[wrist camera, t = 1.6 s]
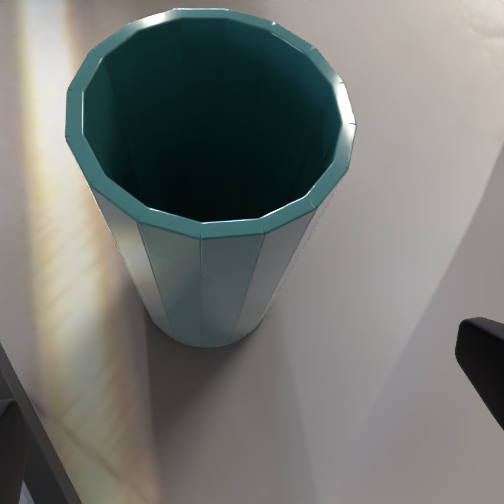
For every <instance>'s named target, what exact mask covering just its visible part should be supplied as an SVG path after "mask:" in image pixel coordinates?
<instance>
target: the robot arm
mask: <svg viewBox="0 0 504 504" xmlns="http://www.w3.org/2000/svg"><path fill="white" fill-rule="evenodd" d="M455 356H456V359H457V362H458V363H459V365H460V367H461V368H462V370H463V371H464V373H465V374H466V376H467V377H468V379H469V380H470V382H471V383H472V385H473V386H474V388H475V389H476V391H477V392H478V394H479V395H480V397H481V398H482V400H483V401H484V403H485V404H486V406H487V407H488V409H489V410H490V412H491V414H492V415H493V416H494V418H495V419H496V421H497V422H498V424H499V425H500V426H501V427H502V429H503V430H504V324H502V323H499V322H495V321H492V320H489V319H486V318H483V317H476V318H470V319H465V320H463V321H462V322H461V323H460V325H459V330H458V336H457V341H456V347H455ZM28 449H29V432H28V429H27V426H26V423H25V421H24V418H23V415H22V412H21V409H20V406H19V404H18V402H17V401H16V400H14V399H6V400H0V504H19V501H20V495H21V489H22V484H23V478H24V472H25V466H26V460H27V455H28Z"/></svg>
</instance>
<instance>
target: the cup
mask: <svg viewBox="0 0 504 504" xmlns="http://www.w3.org/2000/svg"><path fill="white" fill-rule="evenodd" d="M355 133H356V121H355V117H354V114H353V111H352V107H351V104H350V100H349V97H348V93H347V90H346V86H345V84H344V82H343V80H342V79H341V78H340V77H339V75H338V74H337V73H336V72H335V70H334V69H333V68H332V67H331V66H330V64H329V63H328V62H327V61H326V59H325V58H324V57H323V56H322V55H321V53H320V52H319V51H318V50H317V48H315V47H314V46H313V45H311V44H309V43H308V42H306V41H305V40H303V39H301V38H300V37H298V36H297V35H295V34H293V33H292V32H290V31H289V30H287V29H285V28H284V27H282V26H281V25H279V24H277V23H274V22H273V21H270V20H266V19H263V18H259V17H256V16H252V15H248V14H245V13H241V12H238V11H234V10H231V9H214V8H178V9H173V10H170V11H166V12H163V13H159V14H156V15H153V16H149V17H146V18H142V19H139V20H136V21H132V22H130V23H128V24H126V25H125V26H123V27H122V28H121V29H119V30H118V31H116V32H115V33H114V34H112V35H111V36H109V37H108V38H107V39H105V40H104V41H103V42H101V43H100V44H98V45H97V46H96V47H94V48H93V49H92V50H91V51H90V52H89V53H88V55H87V57H86V58H85V60H84V62H83V63H82V65H81V67H80V69H79V70H78V72H77V74H76V75H75V77H74V79H73V80H72V82H71V84H70V86H69V87H68V90H67V95H66V125H65V138H66V142H67V144H68V146H69V148H70V150H71V152H72V154H73V156H74V158H75V161H76V163H77V165H78V167H79V169H80V171H81V173H82V175H83V177H84V180H85V182H86V184H87V186H88V188H89V190H90V192H91V194H92V196H93V198H94V201H95V203H96V205H97V207H98V209H99V211H100V213H101V215H102V217H103V219H104V222H105V224H106V226H107V228H108V230H109V232H110V234H111V236H112V238H113V241H114V243H115V245H116V247H117V249H118V251H119V253H120V255H121V257H122V259H123V262H124V264H125V266H126V268H127V270H128V272H129V274H130V276H131V278H132V280H133V283H134V285H135V287H136V289H137V291H138V293H139V295H140V297H141V299H142V301H143V303H144V305H145V307H146V309H147V311H148V313H149V315H150V317H151V319H152V321H153V322H154V323H155V324H156V325H157V326H158V327H159V328H160V329H161V330H162V331H163V332H164V333H165V334H167V335H168V336H169V337H171V338H172V339H174V340H176V341H178V342H180V343H183V344H186V345H189V346H193V347H199V348H216V347H221V346H226V345H229V344H232V343H234V342H236V341H238V340H240V339H242V338H244V337H245V336H247V335H248V334H249V333H251V332H252V331H253V330H254V329H255V328H256V327H257V326H258V325H259V323H260V322H261V321H262V319H263V318H264V316H265V315H266V314H267V312H268V311H269V310H270V308H271V306H272V304H273V303H274V301H275V299H276V297H277V296H278V294H279V292H280V290H281V288H282V287H283V285H284V283H285V281H286V280H287V278H288V276H289V274H290V272H291V271H292V269H293V267H294V265H295V264H296V262H297V260H298V258H299V256H300V255H301V253H302V251H303V249H304V247H305V246H306V244H307V242H308V240H309V239H310V237H311V235H312V233H313V231H314V230H315V228H316V226H317V224H318V223H319V221H320V219H321V217H322V215H323V214H324V212H325V210H326V208H327V207H328V205H329V203H330V201H331V199H332V198H333V196H334V194H335V192H336V190H337V189H338V187H339V185H340V183H341V182H342V180H343V178H344V176H345V174H346V173H347V170H348V169H349V164H350V159H351V153H352V148H353V143H354V138H355Z"/></svg>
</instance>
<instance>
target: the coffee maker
mask: <svg viewBox="0 0 504 504" xmlns="http://www.w3.org/2000/svg"><path fill="white" fill-rule="evenodd" d="M6 399H14V400H16V401H17V402H18V404H19V406H20V409H21V412H22V415H23V418H24V421H25V423H26V426H27V429H28V432H29V449H28V455H27V460H26V466H25V472H24V478H23V484H22V489H21V495H20V501H19V504H82V503H81V501H80V499H79V497H78V495H77V493H76V491H75V489H74V487H73V485H72V483H71V481H70V479H69V477H68V475H67V473H66V471H65V470H64V468H63V466H62V464H61V462H60V460H59V458H58V456H57V454H56V452H55V450H54V448H53V446H52V444H51V442H50V440H49V438H48V436H47V434H46V432H45V430H44V428H43V426H42V424H41V422H40V420H39V418H38V416H37V414H36V412H35V410H34V408H33V407H32V405H31V403H30V401H29V399H28V397H27V395H26V393H25V391H24V389H23V387H22V385H21V383H20V381H19V379H18V377H17V375H16V373H15V371H14V369H13V367H12V365H11V363H10V361H9V359H8V357H7V355H6V353H5V351H4V349H3V347H2V345H1V343H0V400H6Z"/></svg>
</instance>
